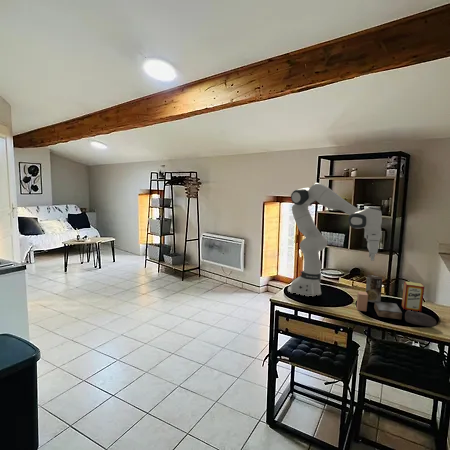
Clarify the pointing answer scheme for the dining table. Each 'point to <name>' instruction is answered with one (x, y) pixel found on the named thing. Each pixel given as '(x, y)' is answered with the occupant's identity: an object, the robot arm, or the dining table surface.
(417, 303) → the ginger box
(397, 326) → the dining table surface
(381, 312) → the block
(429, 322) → the perforated stone tool
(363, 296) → the terracotta block
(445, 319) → the dining table surface
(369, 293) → the coffee box
